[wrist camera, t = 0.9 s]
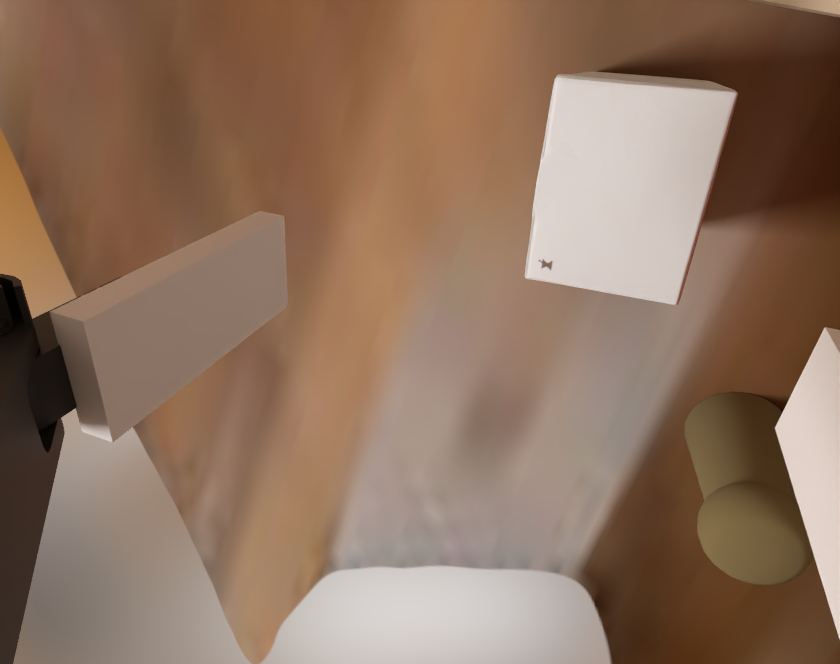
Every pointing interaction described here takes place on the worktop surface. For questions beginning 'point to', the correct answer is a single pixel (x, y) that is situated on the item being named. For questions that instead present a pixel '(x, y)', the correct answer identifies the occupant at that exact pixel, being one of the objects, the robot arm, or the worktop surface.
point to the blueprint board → (808, 5)
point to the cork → (746, 490)
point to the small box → (626, 181)
